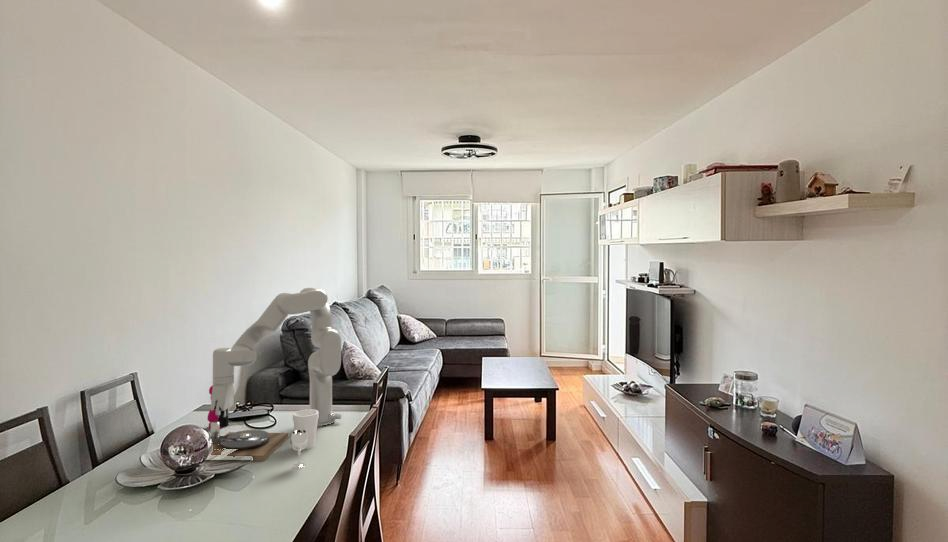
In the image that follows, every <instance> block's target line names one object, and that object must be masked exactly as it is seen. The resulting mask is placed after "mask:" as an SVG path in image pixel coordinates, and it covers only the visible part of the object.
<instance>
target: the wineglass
mask: <svg viewBox="0 0 948 542" xmlns="http://www.w3.org/2000/svg"><path fill="white" fill-rule="evenodd" d="M289 441H290V447H291V449H292V450H294V451H297V457H298V460H297V463H295V464H293V465H292V468H293V469H294V470H295V469H296V470H297V469H299V470H300V469H303V467H304V468H305V467H306V464H305V463H301V460H300V459H301V458H300V457H301V455H302V454H301V451H303V450H305V449H304V448H306V446H307V444H308V437H307V433H306V431H305V430H296V431H295V430H293V431H292V432H291V435H290V440H289Z"/></svg>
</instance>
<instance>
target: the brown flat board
mask: <svg viewBox="0 0 948 542" xmlns="http://www.w3.org/2000/svg"><path fill="white" fill-rule="evenodd" d="M234 432H235V431H232V432H231V431H230V432H229V431H228V432H227V433H226V434H225V435H223V436H226V435H228V434H231V433H234ZM268 433H269V441H268V442H266V443H265V444H263V445H260V446H257V447H253V448H248V449H238V450H236V451H234V452H232V453H230V454H228V455H227V456H233V457H235V456H252V457H253V461H252V462H265V460H267V459H268V458H269V457H270V456H271V455H272V454H273V453H274V452H275V451H277V449H278V448H280V447H281V446H282V445H283V444H284V443H285V442H286V441H287V440H288V439H289V432H268ZM212 444H213V452H212V453H211V455H221V452H222V451H223V450H224V449H223V447H221V445H220V442H213V443H212ZM218 444H219V445H218ZM214 449H216V450H214ZM217 449H219V450H220V449H221V450H220V451H219V450H217ZM222 449H223V450H222Z"/></svg>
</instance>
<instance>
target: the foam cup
mask: <svg viewBox="0 0 948 542" xmlns="http://www.w3.org/2000/svg"><path fill="white" fill-rule="evenodd" d="M318 418H319V412H318V411H317V410H313V409H310V408H309V409H308V408H307V409H306V408H305V409H299V410H296V411H294V412H293V413H292V421H293V427H294V431H296V430H305V431H306V433H307V437H308V444H307V446H306V448H304V449H303V450H310V449H312V448H314V447H315V444H316V435H317V429H318V426H317V423H318Z"/></svg>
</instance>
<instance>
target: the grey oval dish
mask: <svg viewBox="0 0 948 542" xmlns="http://www.w3.org/2000/svg"><path fill="white" fill-rule="evenodd" d="M233 432H234V433H231V434H228V435H226V434H225V435H226V436H224V435H220V422H219V421H215V422H211V429H210V437H211V439H212V442H220V445H221V447H223V448H226V449H248V448H253V447H257V446H260V445H263V444H265V443H266V442H268V441H269V433H270V432H268V431H266V430H261V429H247V430H240V431H236V432H235V431H233Z"/></svg>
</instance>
